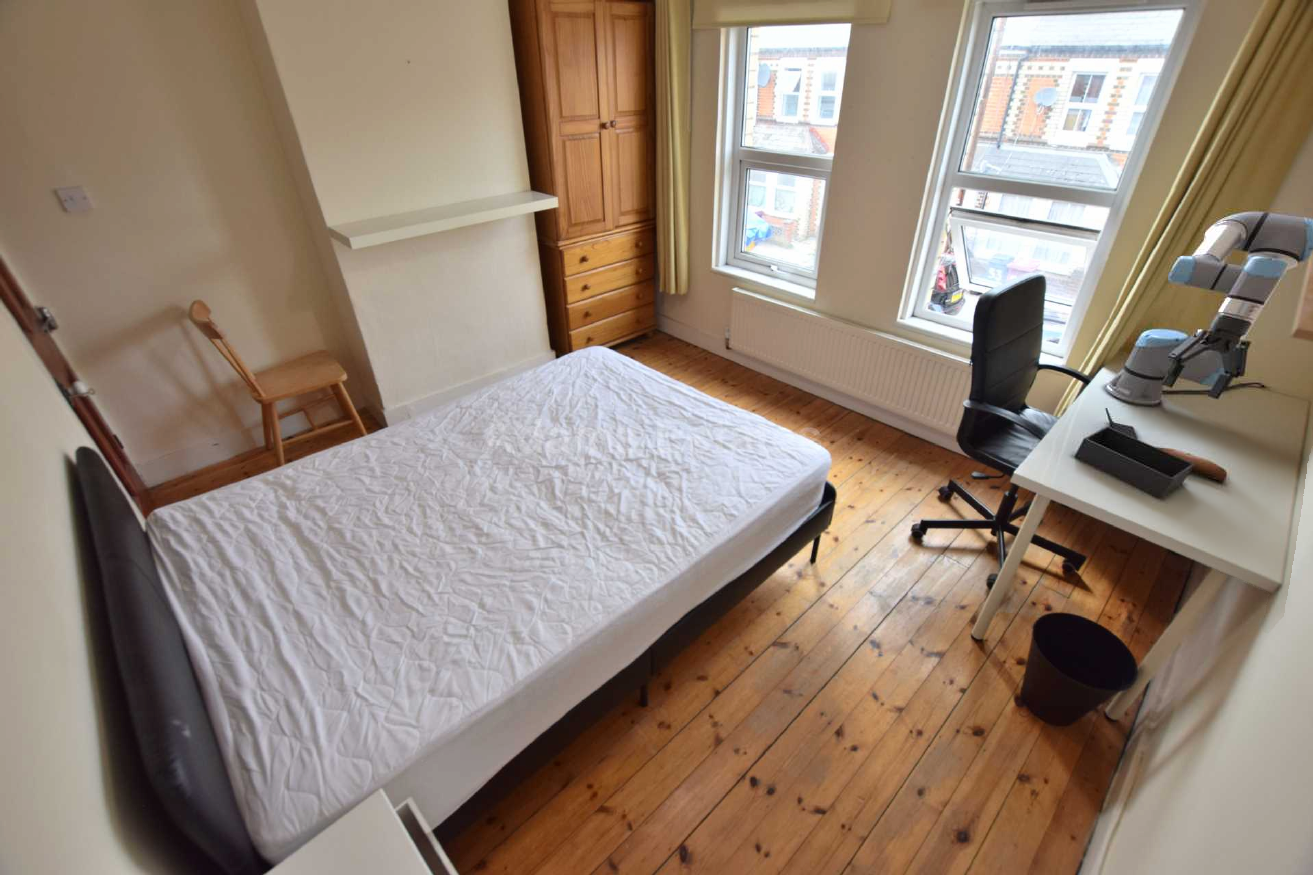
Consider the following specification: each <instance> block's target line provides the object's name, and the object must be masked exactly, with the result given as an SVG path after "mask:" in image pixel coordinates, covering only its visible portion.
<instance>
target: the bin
mask: <svg viewBox="0 0 1313 875" xmlns="http://www.w3.org/2000/svg"><path fill="white" fill-rule="evenodd" d="M1156 447H1157V446H1153V445H1151V444H1149V443H1147V442H1144V441H1142V440H1139V439H1138V438H1137V439H1135V438H1133V437H1131V436H1128V435H1126V434H1124V433H1122V432H1119V431H1117V430H1115V429H1112V428H1111V426H1107V425H1106V426H1105V427H1103V428H1101V429H1099V430H1097V431H1095V432H1093V433H1091V434H1089V435H1087V436H1085V437H1084V438H1083V439H1082V441H1081V443H1080V446H1079V447H1078V449H1077V451H1076V453H1075V455H1074V458H1075V459H1078V460H1079V461H1081V462H1083V463H1085V464H1088V465H1090V466H1092V467H1094V468H1096V469H1098V470H1100V471H1102V472H1104V473H1106V474H1108V475H1110V476H1112V477H1114V478H1116V479H1119V480H1120V481H1122V482H1124V483H1126V484H1128V485H1131V486H1132V487H1135V488H1137V489H1139V490H1141V491H1143V492H1145V493H1147V494H1150V495H1151V496H1153V497H1155V498H1157V499H1159V500H1161V499H1162V498H1164V497H1166V495H1169V493H1171V492H1172V491H1174V490H1175V489H1177V488H1179V487H1180V486H1181V485H1183V484H1184V482H1185V480H1186V479H1187V477H1188V476H1189V474H1190V473H1191V472H1192V471H1191V470H1192V468H1193V467H1194V465H1195V464H1193V463H1190V462H1188V461H1186V460H1184V459H1181V458H1179V457H1177V456H1174V455H1172V454H1170V453H1168V452H1165V451H1163V450H1161V449H1158V448H1156Z"/></svg>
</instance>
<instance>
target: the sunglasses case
mask: <svg viewBox="0 0 1313 875" xmlns="http://www.w3.org/2000/svg"><path fill="white" fill-rule="evenodd" d="M1155 447H1156V448H1158V449H1161V450H1163V451H1165V452H1168V453H1170V454H1172V455H1174V456H1177V457H1179V458H1181V459H1184V460H1186V461H1188V462H1190V463H1193V464H1195V465H1194V467H1193V468H1192V470H1191V471H1190V472H1194V473H1196V474H1198V475H1202V476H1205V477H1208V478H1211V479H1213V480H1217V481H1218V482H1221V483H1224V481H1225V479H1226V478H1227V476H1228V474H1227V473H1228V472H1227V471H1226V469H1225V468H1224V467H1222V466H1220V465H1219V464H1217V463H1215V462H1213V461H1211V460H1209V459H1206V458H1204V457H1200V456H1197V455H1194V454H1191V453H1188V452H1184V451H1182V450H1178V449H1174V448H1167V447H1160V446H1155Z"/></svg>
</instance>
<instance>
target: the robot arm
mask: <svg viewBox="0 0 1313 875" xmlns="http://www.w3.org/2000/svg"><path fill="white" fill-rule="evenodd" d="M1233 250H1234V251H1240V252H1244V253H1247V256H1246V260H1247V263H1246V264H1245V265H1244V266H1242V265H1238V264H1232V263H1227V262H1225V261H1226V260H1227V259H1228V258H1229V256H1230V254H1231V253H1232V252H1233ZM1312 250H1313V218H1308V217H1306V216H1303V217H1302V216H1295V215H1294V216H1293V215H1286V214H1280V213H1270V212H1265V211H1245V212H1239V213H1236V214H1232V215H1229V216H1225V217H1223V218H1221V219H1219V220H1217V221H1216V222H1214V223H1213V224H1212V225H1211V226H1210V227H1209V228H1208V229H1207V230H1206V232H1205V233H1204V236H1203V241H1202V242H1201V244H1200V245H1199V246H1198V247H1197V248H1196V250H1195V251H1194V253H1193V254H1192V255H1190V256H1189V255H1181V256H1179V257H1178V258H1177V259H1176V261H1175V263H1174V264H1173V266H1172V268H1171V270H1170V272H1169V274H1168V277H1167V280H1168V281H1169V282H1171V283H1175V284H1179V285H1181V286H1188V287H1193V288H1198V289H1203V290H1208V291H1212V292H1217V293H1221V294H1225V295H1226V294H1227V296H1226V298H1225V299H1224V301H1223V302H1222V304H1221V306H1220V307H1219V309H1218V311H1217V312H1218V313H1219V314H1217V315H1215V316H1214V317H1213V319H1212V321H1211V323H1210V324H1209V330H1206V329H1202V328H1196V329H1195V331H1193V333H1192V335H1191V336H1188V334H1186V333H1184V332H1181V331H1178V330H1174V329H1167V328H1166V329H1165V328H1155V329H1154V328H1153V329H1148V330H1145V331H1144V332H1142V333H1141V334H1140V335H1139V337H1138V339H1137V341H1136V342H1135V343H1134V347H1133V348H1132V351H1131V352H1130V355H1129V356H1128V358H1127V359H1126V362H1125V363H1124V366H1123V368H1122V369H1121V370H1120V371H1119V372H1118V373H1117V374H1115V376H1114V377H1112V378H1111V380H1109V382H1108V383H1107V385H1106V386H1105V389H1106V390H1105V391H1106V392H1108V393H1109V394H1110V395H1111V396H1112V397H1115V399H1119V400H1120V401H1123V402H1126V403H1130V404H1134V405H1139V406H1155V405H1158V404H1159V403H1160V401H1161V400H1162V396H1163V393H1168V394H1169V393H1170V394H1171V393H1174V394H1175V393H1208V394H1207V395H1206V396H1207V397H1210V398H1212V399H1216V400H1219V398H1220V397H1221V396H1222V394H1223V393H1224V390H1228V389H1231V388H1236V387H1240V386H1249V385H1250V386H1251V385H1252V386H1253V385H1257V386H1258V385H1259V386H1260V387H1262V388H1265V384H1263V383H1262V382H1259V383H1258V381H1257V382H1254V381H1253V382H1242V383H1236V384H1232V385H1231V383H1232V381H1233V380H1234V379H1239V378H1240V377H1241V378H1243V377H1244V376H1245V374H1246V366H1247V358H1248V350H1249V348H1250V346H1251V344H1252V342H1251V341H1250V340H1245V339H1246V337H1247V335H1248V334H1249V332H1250V330H1252V327H1253V326H1254V324H1255V322H1256V321H1257V319H1258V317H1259V316H1260V315H1261V313H1262V311H1263V309H1264V308H1265V306H1266V304H1267V303H1268V302H1269V300H1270V298H1271V297H1272V294H1273V293H1274V291H1275V290H1276V288H1277V286H1278V285H1279V283H1280V282H1281V280H1282V278H1283V277H1284V275H1285V274H1286V272H1287V271H1288V270H1292V269H1294V268H1296V267H1297V266H1298V265H1299V263H1302V262H1303V263H1305V262H1307V261H1308V260H1309V259H1310V257H1311V255H1312V253H1311V251H1312ZM1312 252H1313V251H1312ZM1310 254H1311V255H1310ZM1309 256H1310V257H1309ZM1178 378H1179V379H1181V380H1185V381H1188V382H1192V383H1196V384H1199V385H1200V386H1207V387H1211V388H1210V389H1200V390H1199V389H1197V390H1196V389H1195V390H1194V389H1175V390H1172V388H1173V387H1174V385H1175V383H1176V382H1177V380H1178ZM1261 383H1262V384H1263V385H1261ZM1164 386H1165V387H1168V388H1170V389H1171V390H1170V389H1168V390H1167V389H1164Z"/></svg>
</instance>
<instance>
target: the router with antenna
mask: <svg viewBox="0 0 1313 875" xmlns="http://www.w3.org/2000/svg"><path fill="white" fill-rule="evenodd" d="M1104 409H1105V412H1106V416H1107V419H1108V423H1109V427H1110V428H1112V429H1115V430H1117V431H1119V432H1122V433H1124V434H1126V435H1128V436H1131V437H1133V438H1135V439H1138V437H1137V434H1136V431H1135V428H1134V426H1132V425H1128V424H1122V423H1119V422H1114V421H1113V419H1112V416H1111V414H1110V412H1109V410H1108V407H1105V408H1104Z"/></svg>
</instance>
